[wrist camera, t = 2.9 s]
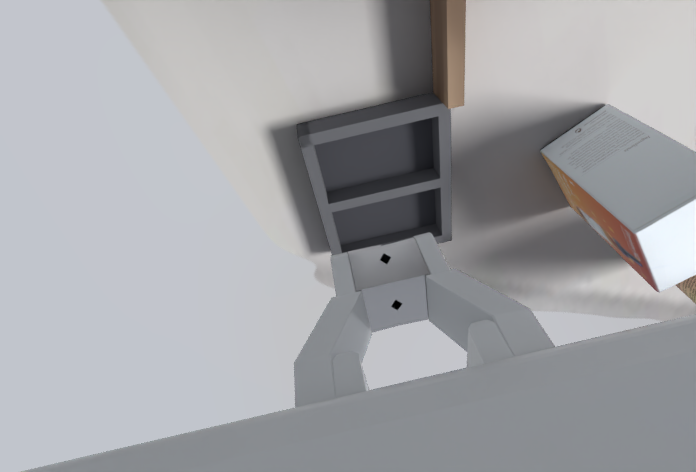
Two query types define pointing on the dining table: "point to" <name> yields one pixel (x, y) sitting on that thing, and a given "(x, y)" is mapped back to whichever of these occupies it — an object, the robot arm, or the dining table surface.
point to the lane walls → (448, 50)
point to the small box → (632, 192)
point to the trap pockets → (381, 172)
